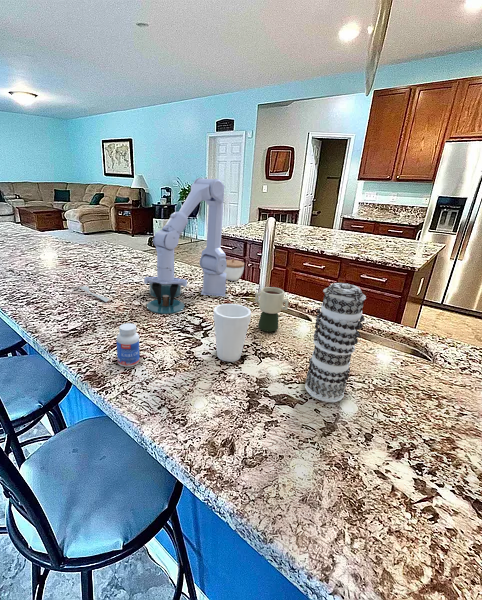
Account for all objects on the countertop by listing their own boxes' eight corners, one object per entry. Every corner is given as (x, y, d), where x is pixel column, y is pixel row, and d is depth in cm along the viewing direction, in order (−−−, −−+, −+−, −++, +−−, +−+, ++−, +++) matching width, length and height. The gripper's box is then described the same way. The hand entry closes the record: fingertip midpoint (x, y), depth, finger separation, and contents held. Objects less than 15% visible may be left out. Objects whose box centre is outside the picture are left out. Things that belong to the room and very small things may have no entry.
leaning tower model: (341, 409, 67) (368, 298, 58) (298, 393, 72) (316, 287, 63) (349, 387, 75) (374, 285, 66) (309, 374, 79) (327, 276, 70)
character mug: (288, 330, 102) (294, 291, 97) (279, 338, 96) (284, 298, 91) (257, 320, 107) (261, 283, 103) (247, 327, 102) (251, 289, 97)
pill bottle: (120, 369, 77) (118, 333, 74) (115, 358, 82) (113, 323, 78) (142, 364, 80) (141, 329, 76) (136, 354, 84) (135, 320, 80)
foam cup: (249, 350, 88) (254, 307, 84) (242, 368, 80) (246, 320, 75) (217, 344, 91) (219, 301, 86) (206, 360, 83) (208, 314, 78)
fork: (105, 309, 116) (105, 302, 115) (72, 289, 127) (72, 283, 126) (112, 306, 119) (112, 300, 117) (79, 288, 129) (78, 281, 128)
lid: (186, 302, 120) (187, 291, 118) (181, 316, 107) (181, 304, 106) (151, 300, 121) (151, 288, 119) (142, 314, 108) (142, 301, 107)
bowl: (183, 290, 133) (183, 277, 131) (178, 300, 121) (178, 286, 119) (153, 288, 133) (153, 275, 131) (146, 298, 122) (145, 284, 120)
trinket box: (241, 283, 145) (243, 262, 142) (218, 280, 147) (219, 260, 143) (244, 276, 155) (245, 257, 151) (222, 274, 157) (223, 255, 153)
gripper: (141, 268, 105) (142, 306, 110) (185, 271, 104) (184, 309, 109) (146, 262, 112) (147, 299, 117) (188, 265, 111) (187, 302, 116)
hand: (165, 303), depth 113 cm, fingers open, 4 cm apart
